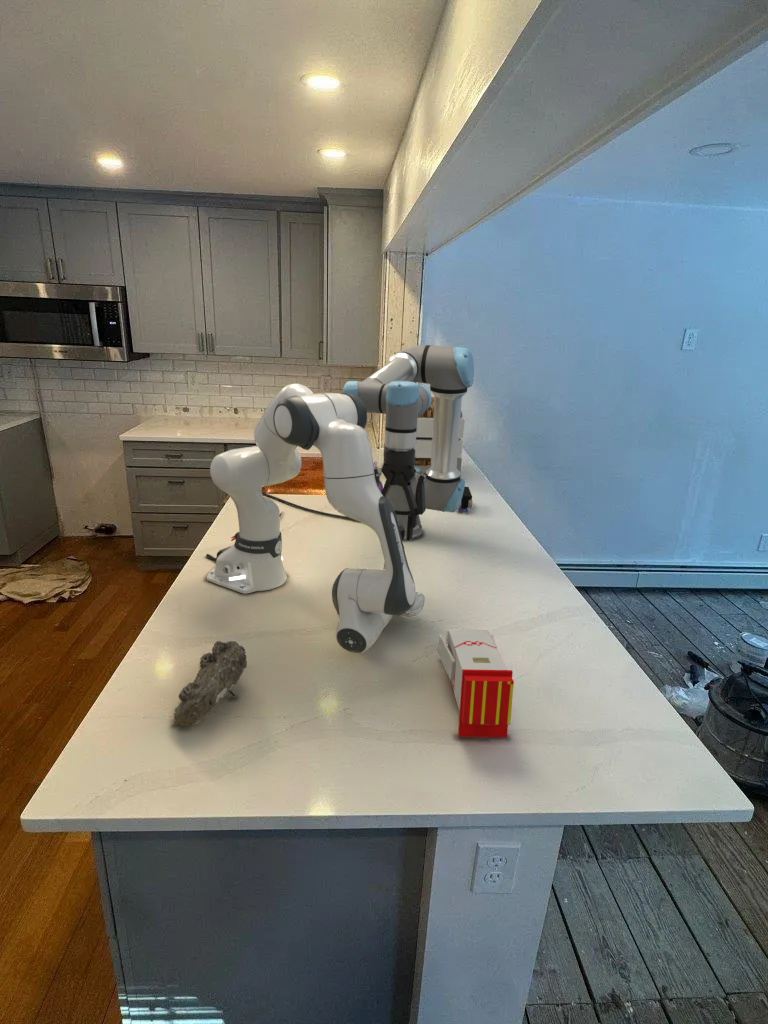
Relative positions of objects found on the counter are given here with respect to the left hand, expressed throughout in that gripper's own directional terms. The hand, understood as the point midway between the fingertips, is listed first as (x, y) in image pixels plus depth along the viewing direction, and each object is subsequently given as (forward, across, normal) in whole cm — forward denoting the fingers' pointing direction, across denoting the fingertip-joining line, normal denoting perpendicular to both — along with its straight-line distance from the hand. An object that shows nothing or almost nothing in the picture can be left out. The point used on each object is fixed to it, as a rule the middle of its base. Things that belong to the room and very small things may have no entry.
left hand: (393, 584), depth 149 cm
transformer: (+129, +29, +6) cm, 132 cm away
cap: (-1, 0, -16) cm, 16 cm away
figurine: (+84, +36, +6) cm, 92 cm away
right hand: (-1, 0, -14) cm, 14 cm away
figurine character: (+86, -1, +6) cm, 87 cm away
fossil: (-49, +21, +6) cm, 54 cm away
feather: (+48, +60, +6) cm, 77 cm away
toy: (-28, -26, +6) cm, 39 cm away
